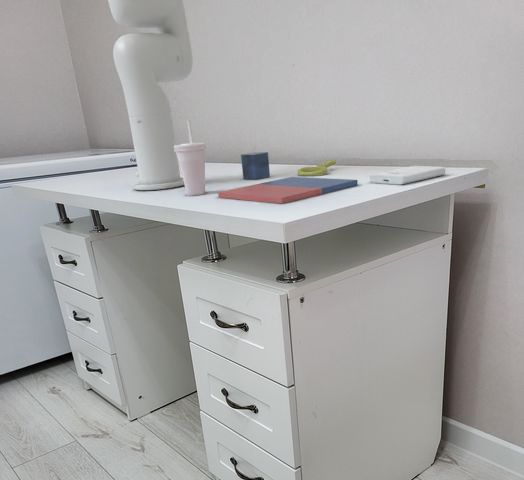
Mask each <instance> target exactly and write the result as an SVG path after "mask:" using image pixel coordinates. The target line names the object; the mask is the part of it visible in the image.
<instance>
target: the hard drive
mask: <svg viewBox="0 0 524 480" xmlns="http://www.w3.org/2000/svg"><path fill="white" fill-rule="evenodd" d="M446 170H447V169H446V167H445V166H435V165H434V166H432V165H410V166H406V167H401V168H398V169H391V170H387V171H382V172H378V173H374V174H370V175H369V182H370V183H371V184H383V185H384V184H385V185H401V186H402V185H406V184H410V183H414V182H419V181H423V180H428V179H431V178H436V177H440V176H444V175H446Z"/></svg>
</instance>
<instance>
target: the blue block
mask: <svg viewBox="0 0 524 480" xmlns="http://www.w3.org/2000/svg"><path fill="white" fill-rule="evenodd" d="M240 158H241V159H240V160H241V169H242V179H243V180H251V181H252V180H253V181H257V180H262V179H267V178H270V177H271V174H270V173H271V172H270V160H269V152H268V151H266V152H265V151H261V152H260V151H255V152H249V153H243V154H240Z"/></svg>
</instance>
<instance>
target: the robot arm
mask: <svg viewBox="0 0 524 480" xmlns="http://www.w3.org/2000/svg"><path fill="white" fill-rule="evenodd" d="M107 2H108V7H109V10H110V12H111V15H112V18H113V20H114V21H115V22H116V24H118V25H119V26H122V27H127V28H146V29H147V28H149V29H156V30H157V33H155V32H130V33H126V34H124V35H121V36H120V37H119V38H118V39H116V40H115V43H114V45H113V49H112V50H113V51H112V57H113V63H114V66H115V70H116V71H117V75H118V78H119V81H120V84H121V87H122V91H123V94H124V99H125V105H126V109H127V115H128V120H129V127H130V131H131V139H132V142H133V148H134V155H135V160H136V166H137V170H136V171H135V173H134V174H135V175H134V176H135V177H138V178H139V179H138V180H139V181H138V182H135V183H134V184H133V189H134V190H135V191H156V190H157V191H159V190H167V189H172V188H178V187H182V186H185V184H184V181H183V177H182V176H181V170H180V165H179V161H178V158H177V154H176V151H174V146H175V145H177V144H176V137H175V129H174V122H173V116H172V110H171V103H170V101H169V98H168V96H167V94H166V93H165V91H164V90H163V88H162V87H161V85H160V83H170V82H180V81H184V80H186V79H187V78H188V77H189V76H190V75H191V72H192V70H193V63H194V62H193V61H194V60H193V59H194V58H193V49H192V44H191V39H190V33H189V27H188V21H187V17H186V16H187V15H186V11H185V6H184V2H183V0H107Z"/></svg>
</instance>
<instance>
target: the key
mask: <svg viewBox="0 0 524 480" xmlns="http://www.w3.org/2000/svg"><path fill="white" fill-rule="evenodd" d="M336 163H337V161H336V159H335V158H333V159H331V160H325V161H323V163H322V164H321V163H317V164H316V166H307V167H301V168H299V169H297V175H298V176H299V177H300V176H301V177H313V176H314V177H316V176H325V175H327V174H328V168H329V167H332V166H334V165H336Z"/></svg>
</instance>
